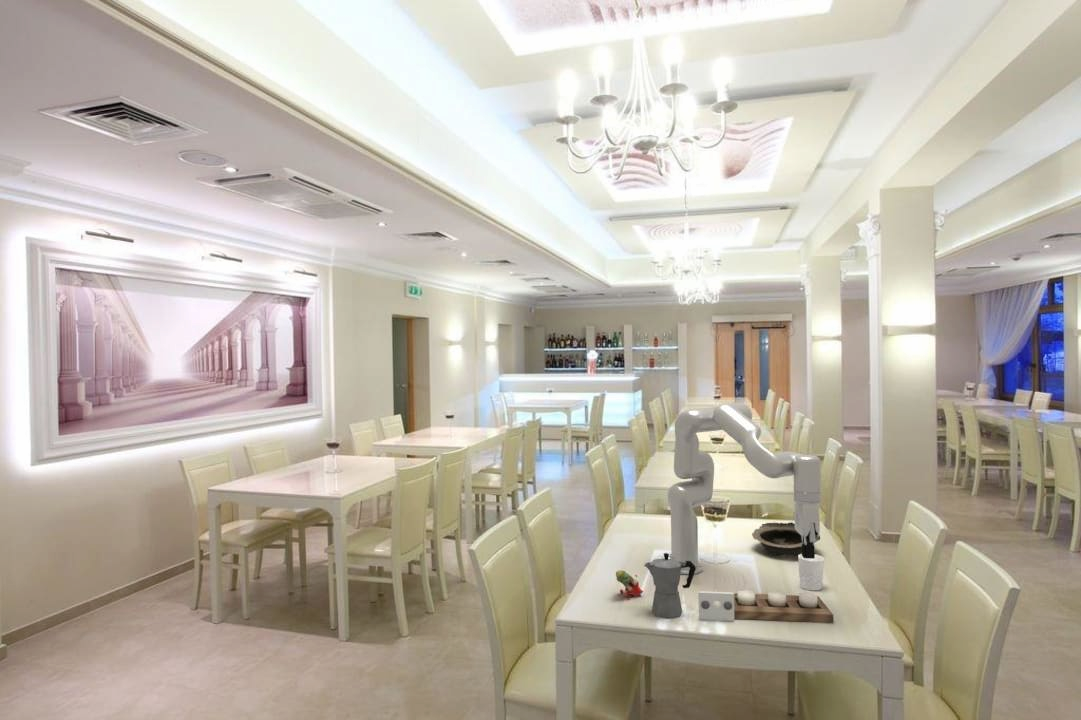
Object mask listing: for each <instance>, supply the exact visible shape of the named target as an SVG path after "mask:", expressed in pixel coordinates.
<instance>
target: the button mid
mask: <svg viewBox="0 0 1081 720" xmlns="http://www.w3.org/2000/svg"><path fill="white" fill-rule="evenodd" d="M767 594H768V603H769V604H770V605H772V606H776V607H783V606H786V595H787V594H786V593H784V592H781V591H777V590H776V591H775V590H774V591H771V590H770V591H769V592H768V593H767Z"/></svg>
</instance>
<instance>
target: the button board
mask: <svg viewBox="0 0 1081 720" xmlns="http://www.w3.org/2000/svg"><path fill="white" fill-rule="evenodd" d="M733 593H734V620H744V621H746V620H748V621H769V622H770V621H773V622H792V623H793V622H797V623H819V624H820V623H822V624H834V613H832V611H831V610H830V609H829V607H828V606H827V604H825V602H824V601H823V600H822V599H821V598H820V596H819V595H817V607H816V608H806V607H803V606H801V605H800V604H799V594H798V595H793V594H791V595H790V594H785V595H786V606H783V607H776V606H772V605H770V604H769V603H768V593H767V594H764V593H755V604H754V605H751V606H746V605H742V604H739V603H738V592H736V593H735V592H733Z"/></svg>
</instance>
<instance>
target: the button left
mask: <svg viewBox="0 0 1081 720" xmlns="http://www.w3.org/2000/svg"><path fill="white" fill-rule="evenodd" d="M737 593H738V603H739V604H742V605H746V606H751V605H754V604H755V594H756V593H755V592H754V591H751V590H747V589H746V590H745V589H741V590H739V591H737Z"/></svg>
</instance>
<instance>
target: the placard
mask: <svg viewBox="0 0 1081 720" xmlns="http://www.w3.org/2000/svg"><path fill="white" fill-rule="evenodd" d="M734 593H735V592H726V591H725V592H722V591H703V590H702V591H699V590H698V620H699V621H720V622H721V621H722V622H725V621H726V622H735V619H734Z"/></svg>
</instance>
